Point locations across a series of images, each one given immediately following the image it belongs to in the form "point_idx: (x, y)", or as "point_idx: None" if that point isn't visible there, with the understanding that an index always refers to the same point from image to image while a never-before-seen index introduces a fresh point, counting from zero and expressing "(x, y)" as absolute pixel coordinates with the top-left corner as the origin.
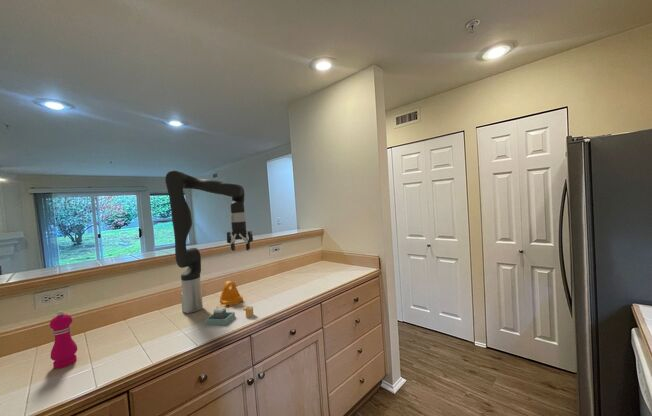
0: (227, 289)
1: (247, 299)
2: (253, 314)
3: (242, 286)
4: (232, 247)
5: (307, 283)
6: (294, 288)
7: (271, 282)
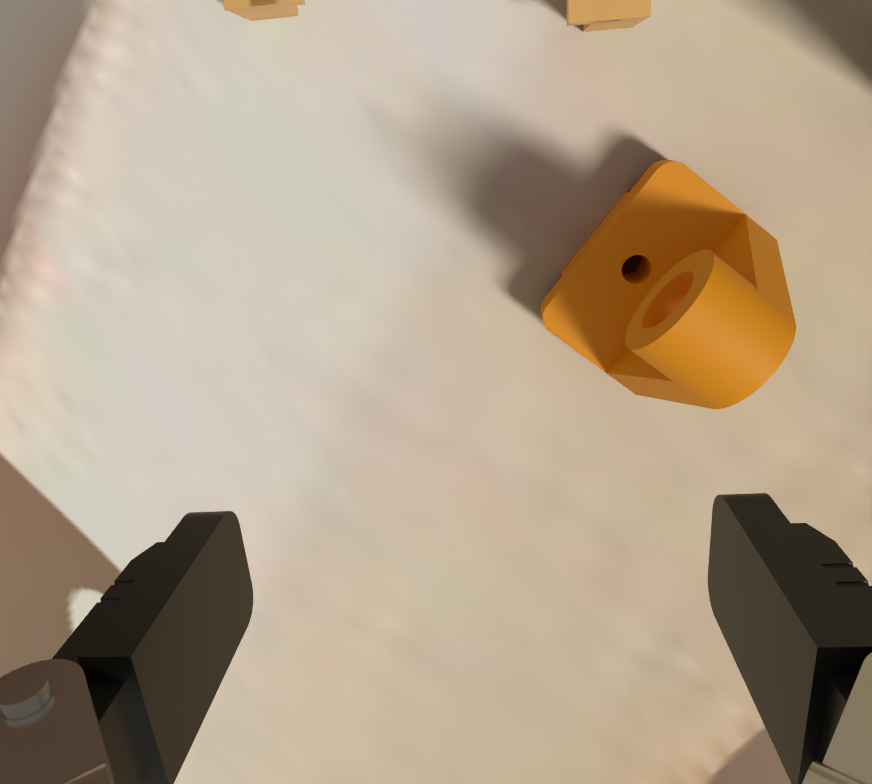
0: (697, 255)
1: (522, 363)
2: (251, 19)
3: None
4: (775, 552)
5: None
6: None
7: (510, 748)
